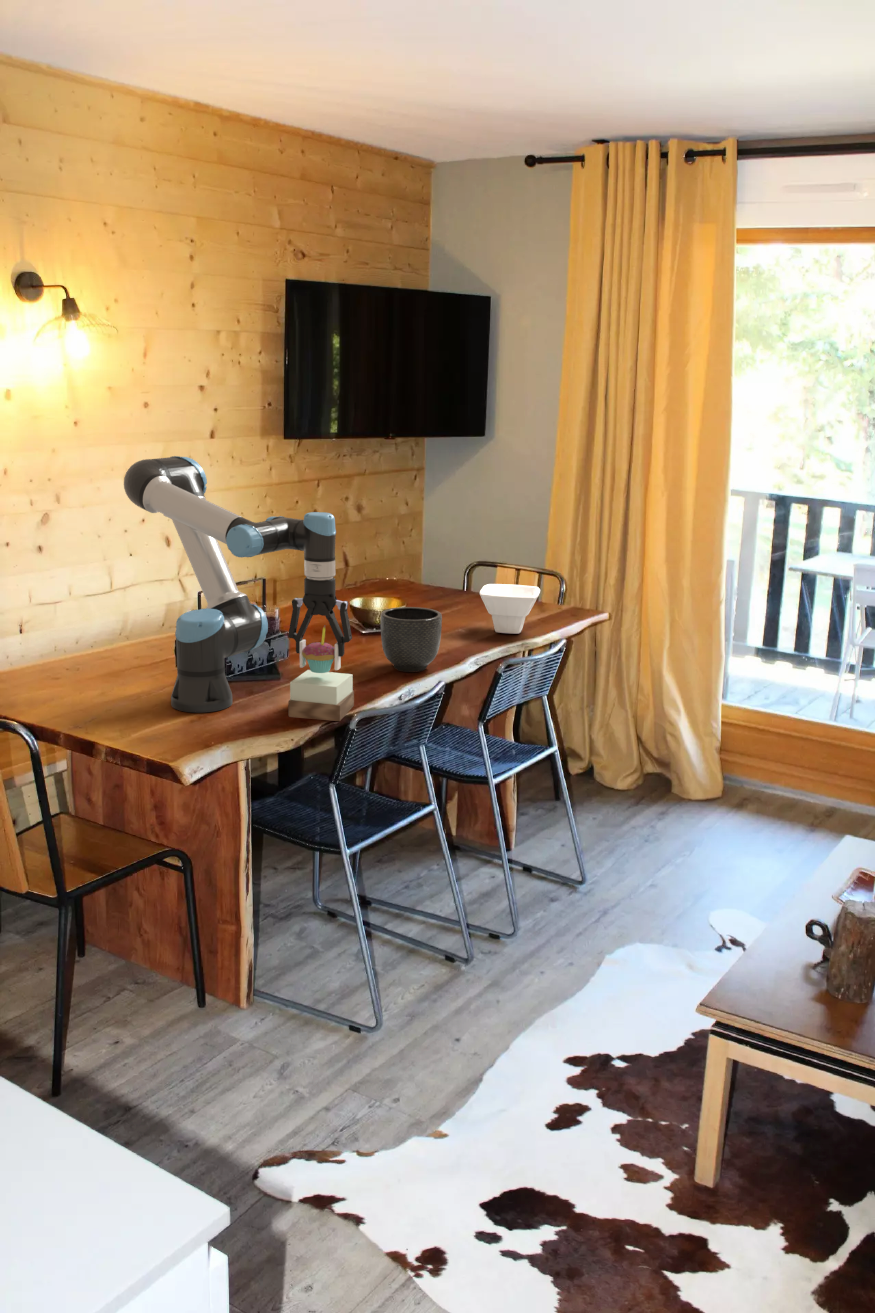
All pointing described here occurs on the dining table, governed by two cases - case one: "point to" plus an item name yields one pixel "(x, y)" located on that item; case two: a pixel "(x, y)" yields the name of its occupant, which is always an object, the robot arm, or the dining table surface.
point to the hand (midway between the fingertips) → (320, 667)
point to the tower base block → (321, 709)
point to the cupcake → (319, 655)
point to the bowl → (509, 605)
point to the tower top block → (321, 687)
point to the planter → (411, 637)
